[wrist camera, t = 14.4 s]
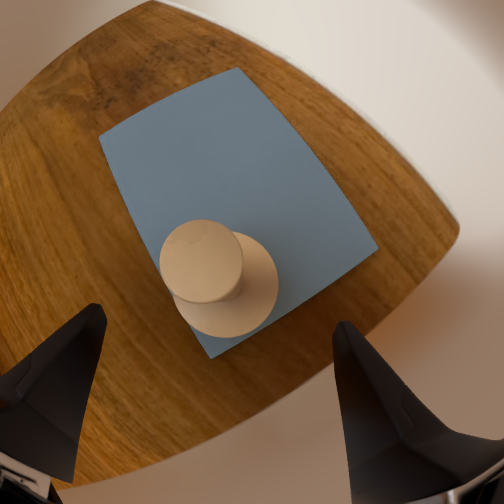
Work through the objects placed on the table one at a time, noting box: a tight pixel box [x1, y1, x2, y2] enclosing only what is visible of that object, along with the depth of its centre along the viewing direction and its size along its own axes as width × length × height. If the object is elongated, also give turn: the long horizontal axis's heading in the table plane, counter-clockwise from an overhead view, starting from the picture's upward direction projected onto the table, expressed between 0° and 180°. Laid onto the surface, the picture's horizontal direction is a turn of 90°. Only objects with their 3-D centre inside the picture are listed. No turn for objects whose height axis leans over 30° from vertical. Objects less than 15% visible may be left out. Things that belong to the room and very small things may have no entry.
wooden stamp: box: [159, 219, 279, 338], centre depth 11 cm, size 6×6×12 cm
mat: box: [99, 67, 379, 359], centre depth 19 cm, size 20×14×1 cm
